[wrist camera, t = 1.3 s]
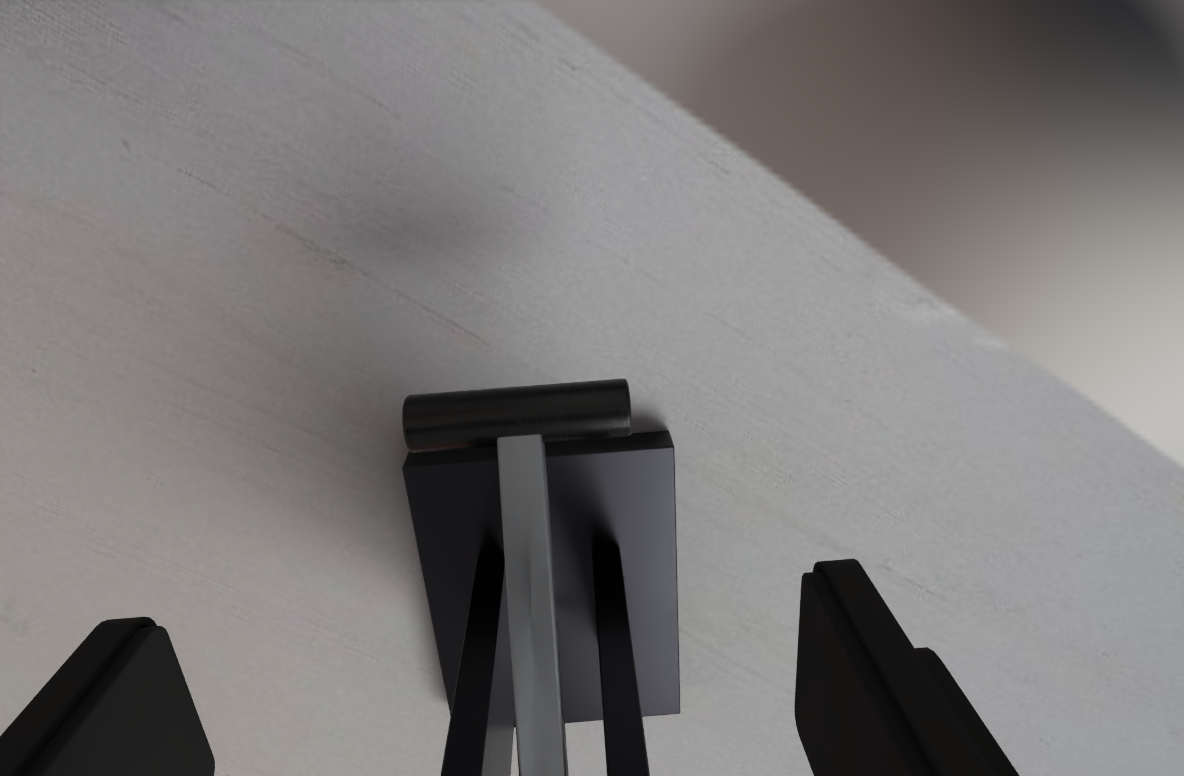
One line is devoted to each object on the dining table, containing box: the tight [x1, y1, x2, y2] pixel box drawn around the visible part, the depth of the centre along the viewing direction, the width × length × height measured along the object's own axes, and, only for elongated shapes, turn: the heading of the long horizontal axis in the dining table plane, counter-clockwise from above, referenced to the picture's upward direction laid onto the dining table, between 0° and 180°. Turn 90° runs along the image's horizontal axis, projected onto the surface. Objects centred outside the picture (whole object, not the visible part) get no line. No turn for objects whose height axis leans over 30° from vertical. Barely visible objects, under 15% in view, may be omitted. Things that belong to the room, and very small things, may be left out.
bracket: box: [402, 431, 680, 776], centre depth 21 cm, size 12×9×13 cm
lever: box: [402, 379, 632, 776], centre depth 17 cm, size 13×6×2 cm, turn 4°
